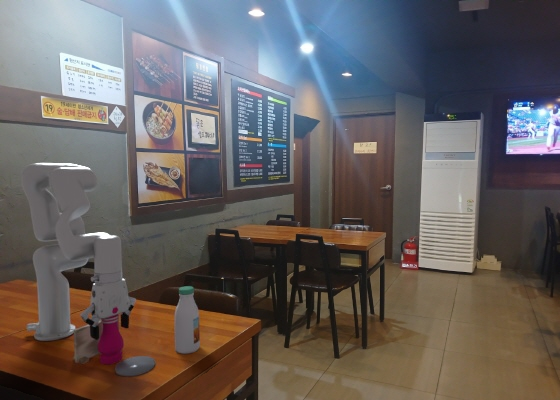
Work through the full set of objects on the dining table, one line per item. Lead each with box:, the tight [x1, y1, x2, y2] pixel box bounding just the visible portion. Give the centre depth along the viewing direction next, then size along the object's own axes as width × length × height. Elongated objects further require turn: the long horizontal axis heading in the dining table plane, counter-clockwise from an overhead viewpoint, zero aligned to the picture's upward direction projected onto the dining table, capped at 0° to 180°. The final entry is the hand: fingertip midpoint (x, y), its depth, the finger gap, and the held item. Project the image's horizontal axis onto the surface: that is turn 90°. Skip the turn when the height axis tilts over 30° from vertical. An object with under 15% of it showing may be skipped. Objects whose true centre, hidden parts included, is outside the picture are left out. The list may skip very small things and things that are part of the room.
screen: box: [72, 319, 120, 365], centre depth 121 cm, size 14×5×10 cm, turn 146°
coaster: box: [114, 355, 156, 377], centre depth 113 cm, size 11×11×1 cm
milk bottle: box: [174, 285, 201, 355], centre depth 124 cm, size 8×8×20 cm
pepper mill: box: [98, 306, 125, 365], centre depth 117 cm, size 7×7×20 cm
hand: (110, 332), depth 117 cm, fingers open, 9 cm apart
